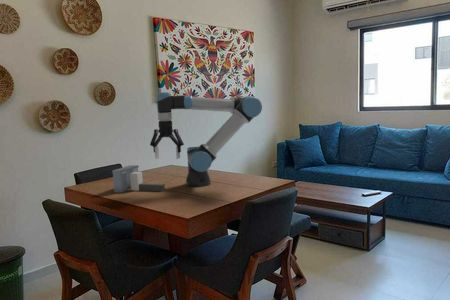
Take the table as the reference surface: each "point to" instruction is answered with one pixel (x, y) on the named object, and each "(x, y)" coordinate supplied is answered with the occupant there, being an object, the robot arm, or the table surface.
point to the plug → (139, 185)
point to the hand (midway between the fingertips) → (167, 158)
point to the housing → (123, 178)
